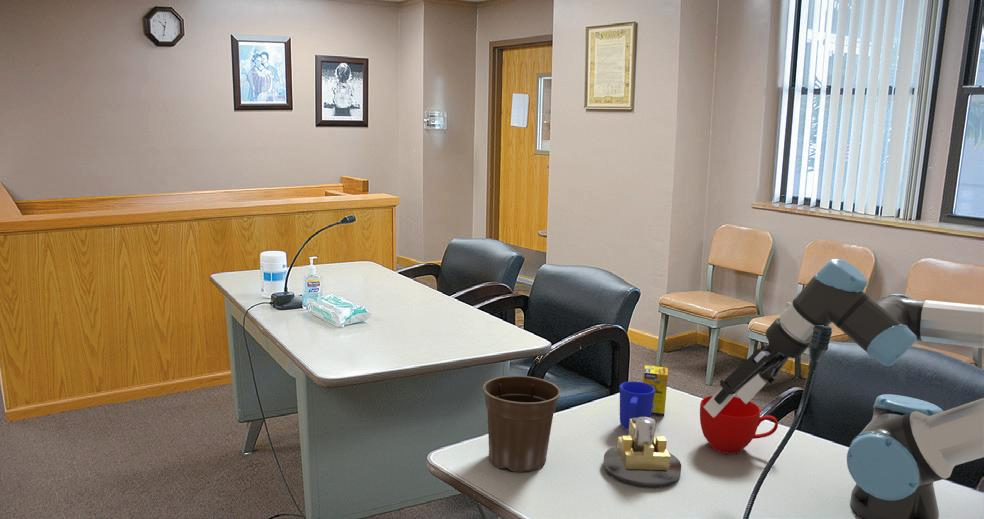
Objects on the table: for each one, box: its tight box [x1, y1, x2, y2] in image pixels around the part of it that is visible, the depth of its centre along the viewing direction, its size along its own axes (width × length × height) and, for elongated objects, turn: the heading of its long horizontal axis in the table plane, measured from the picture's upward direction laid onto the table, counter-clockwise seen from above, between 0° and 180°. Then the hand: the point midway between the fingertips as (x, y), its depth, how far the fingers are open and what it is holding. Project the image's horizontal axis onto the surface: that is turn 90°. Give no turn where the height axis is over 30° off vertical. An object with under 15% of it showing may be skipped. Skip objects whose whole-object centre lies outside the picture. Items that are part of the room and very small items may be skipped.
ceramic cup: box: [699, 395, 779, 455], centre depth 175 cm, size 13×17×10 cm
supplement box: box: [642, 365, 669, 417], centre depth 195 cm, size 6×6×11 cm
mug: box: [619, 380, 655, 431], centre depth 183 cm, size 8×12×10 cm
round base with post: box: [602, 417, 682, 489], centre depth 163 cm, size 16×16×11 cm
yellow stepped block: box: [616, 418, 670, 470], centre depth 165 cm, size 14×9×5 cm, turn 2°
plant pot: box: [482, 375, 562, 473], centre depth 165 cm, size 16×16×16 cm
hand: (725, 405), depth 155 cm, fingers open, 13 cm apart
